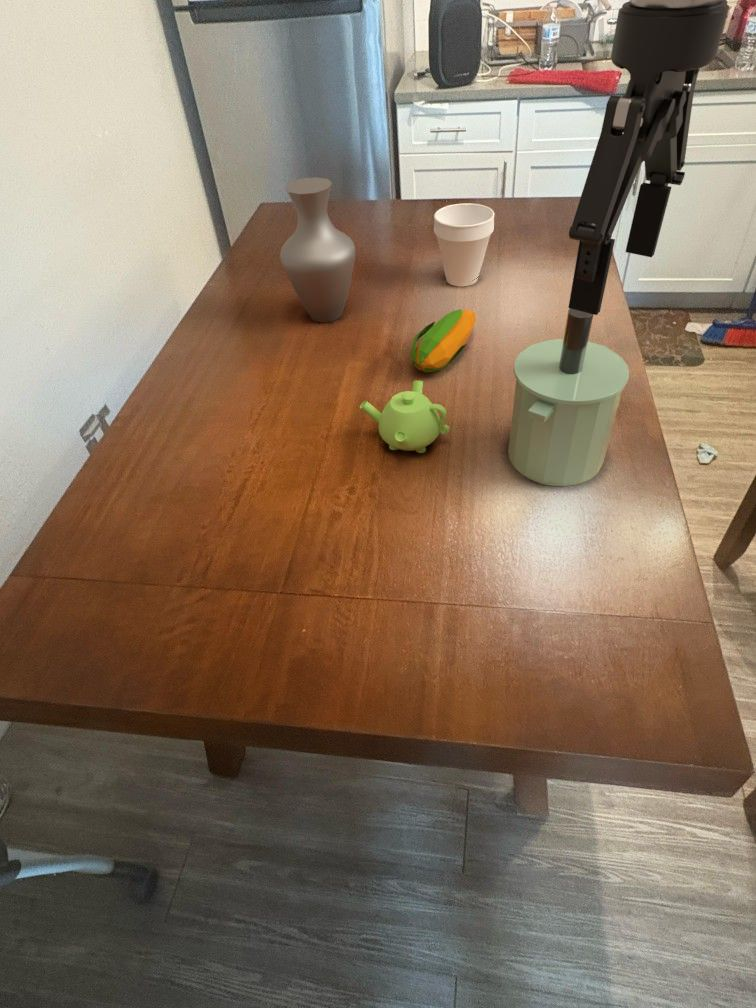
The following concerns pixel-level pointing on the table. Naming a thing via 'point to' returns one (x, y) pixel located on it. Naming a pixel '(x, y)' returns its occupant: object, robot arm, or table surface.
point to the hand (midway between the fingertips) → (613, 280)
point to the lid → (572, 366)
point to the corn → (442, 340)
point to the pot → (559, 438)
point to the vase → (317, 252)
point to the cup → (463, 240)
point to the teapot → (409, 420)
